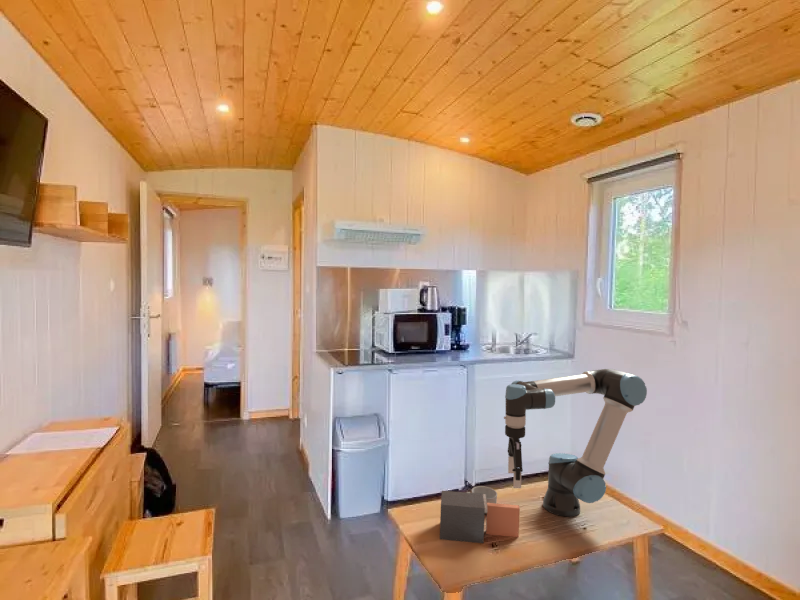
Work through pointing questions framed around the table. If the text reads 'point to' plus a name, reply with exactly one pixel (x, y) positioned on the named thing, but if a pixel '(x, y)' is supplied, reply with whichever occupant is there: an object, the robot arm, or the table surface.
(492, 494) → the teacup
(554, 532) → the table surface
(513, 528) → the salmon orange rectangular slab
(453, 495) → the block
